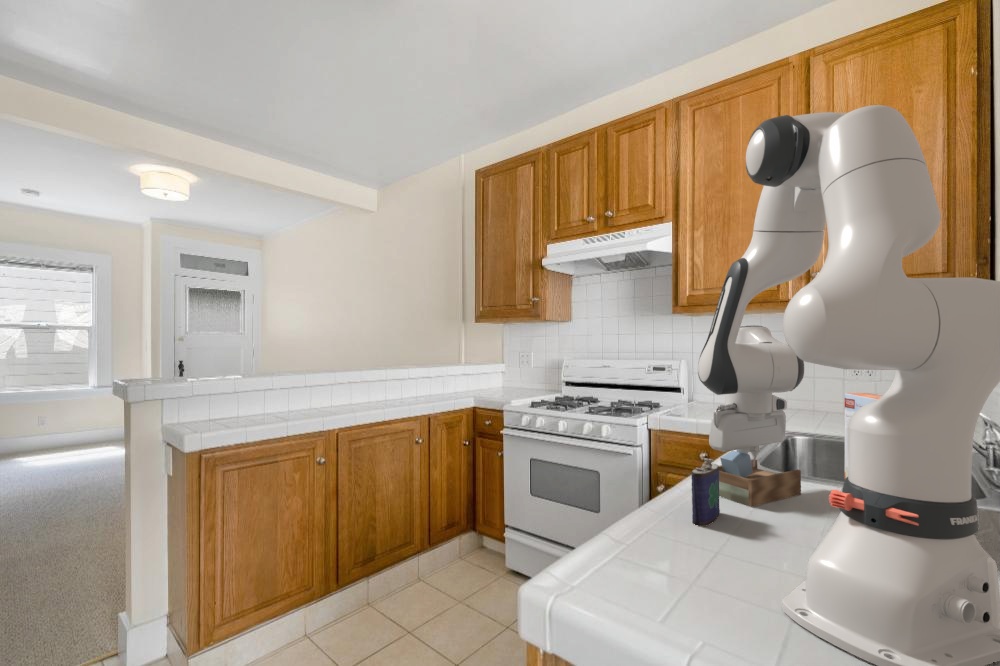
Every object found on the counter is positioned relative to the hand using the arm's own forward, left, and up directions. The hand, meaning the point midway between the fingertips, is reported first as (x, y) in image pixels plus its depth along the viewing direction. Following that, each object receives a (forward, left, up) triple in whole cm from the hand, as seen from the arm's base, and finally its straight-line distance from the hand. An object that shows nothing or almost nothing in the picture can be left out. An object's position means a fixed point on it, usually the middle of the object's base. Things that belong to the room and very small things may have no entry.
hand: (747, 466), depth 100 cm
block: (-3, 0, -1) cm, 3 cm away
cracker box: (+15, -17, -5) cm, 23 cm away
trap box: (-2, -2, -5) cm, 5 cm away
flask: (-22, -7, -5) cm, 24 cm away
